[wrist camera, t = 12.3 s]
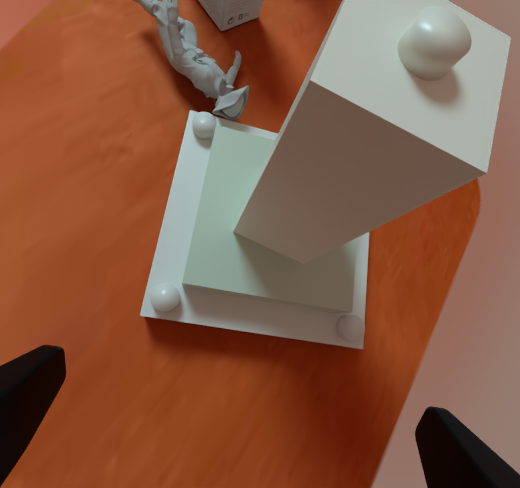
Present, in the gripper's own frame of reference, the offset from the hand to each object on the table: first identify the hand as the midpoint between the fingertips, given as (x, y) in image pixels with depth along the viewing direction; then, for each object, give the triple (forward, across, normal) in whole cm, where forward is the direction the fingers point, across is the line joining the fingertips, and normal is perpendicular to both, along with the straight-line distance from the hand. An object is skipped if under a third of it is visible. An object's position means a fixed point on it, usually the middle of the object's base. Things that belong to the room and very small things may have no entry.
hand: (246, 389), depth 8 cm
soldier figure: (+22, +8, -8) cm, 25 cm away
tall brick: (+13, -1, -1) cm, 13 cm away
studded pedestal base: (+16, 0, +2) cm, 16 cm away
